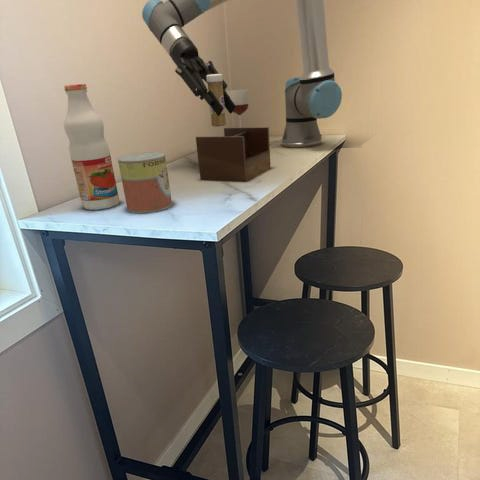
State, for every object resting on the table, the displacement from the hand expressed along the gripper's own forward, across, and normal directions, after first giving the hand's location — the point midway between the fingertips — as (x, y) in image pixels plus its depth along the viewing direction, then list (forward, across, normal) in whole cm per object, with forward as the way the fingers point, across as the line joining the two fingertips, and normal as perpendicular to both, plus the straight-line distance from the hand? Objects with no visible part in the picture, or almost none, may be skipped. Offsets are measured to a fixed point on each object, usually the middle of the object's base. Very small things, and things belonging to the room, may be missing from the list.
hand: (226, 110), depth 132 cm
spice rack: (+13, -1, -12) cm, 18 cm away
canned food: (+16, +36, -9) cm, 40 cm away
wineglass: (-12, -44, -38) cm, 60 cm away
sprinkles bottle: (0, 0, -6) cm, 6 cm away
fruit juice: (+7, +41, -18) cm, 46 cm away
